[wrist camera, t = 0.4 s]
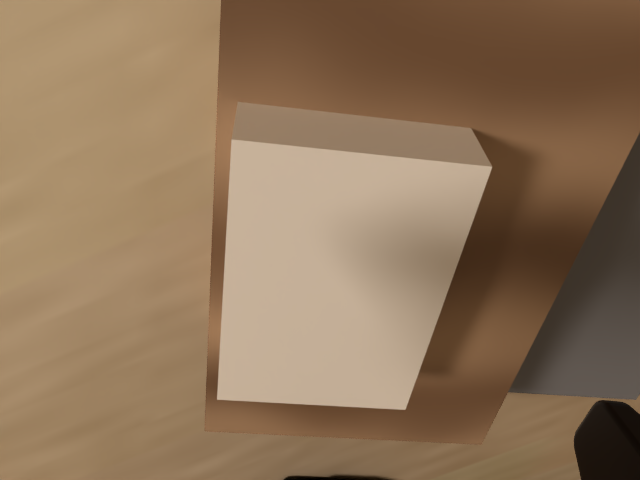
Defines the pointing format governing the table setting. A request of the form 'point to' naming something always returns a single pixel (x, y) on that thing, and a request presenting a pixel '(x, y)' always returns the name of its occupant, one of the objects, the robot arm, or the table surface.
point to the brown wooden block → (497, 143)
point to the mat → (595, 307)
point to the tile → (339, 252)
